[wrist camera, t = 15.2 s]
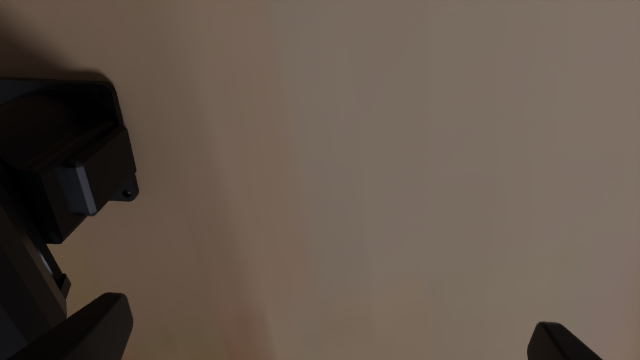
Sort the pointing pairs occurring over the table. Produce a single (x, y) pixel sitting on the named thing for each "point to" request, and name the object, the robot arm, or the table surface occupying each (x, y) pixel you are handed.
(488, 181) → the table surface
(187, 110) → the table surface
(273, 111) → the table surface
